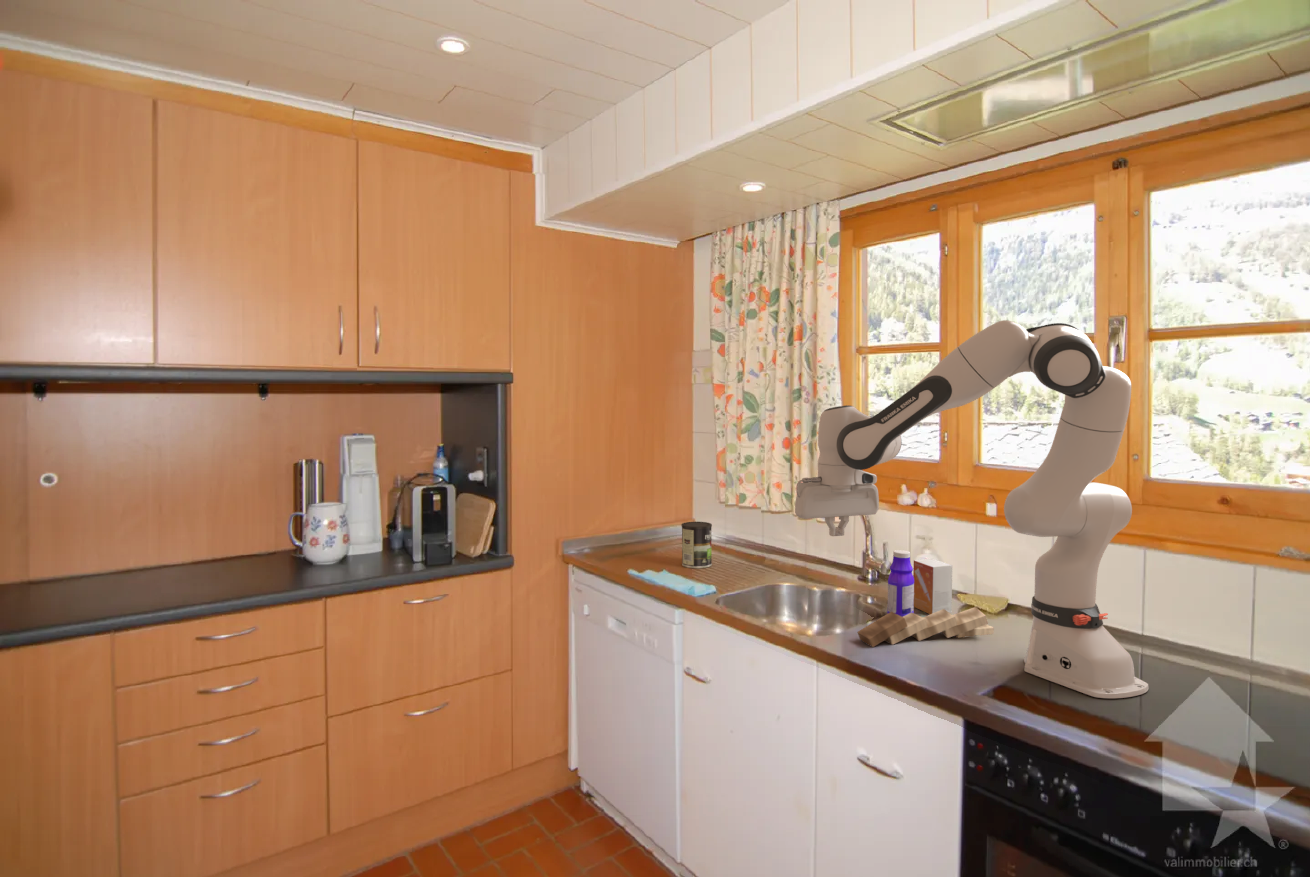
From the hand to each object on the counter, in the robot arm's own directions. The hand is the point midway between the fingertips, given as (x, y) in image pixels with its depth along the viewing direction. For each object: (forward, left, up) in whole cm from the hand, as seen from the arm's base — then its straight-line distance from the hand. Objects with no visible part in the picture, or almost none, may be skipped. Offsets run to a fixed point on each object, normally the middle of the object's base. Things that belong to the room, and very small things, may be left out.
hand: (836, 535), depth 161 cm
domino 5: (-4, -29, -25) cm, 38 cm away
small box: (+13, -37, -25) cm, 47 cm away
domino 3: (-3, -19, -24) cm, 31 cm away
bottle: (+10, -25, -25) cm, 37 cm away
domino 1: (-3, -6, -24) cm, 25 cm away
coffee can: (+80, +5, -25) cm, 84 cm away
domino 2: (-3, -11, -24) cm, 27 cm away
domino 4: (-4, -26, -24) cm, 35 cm away
